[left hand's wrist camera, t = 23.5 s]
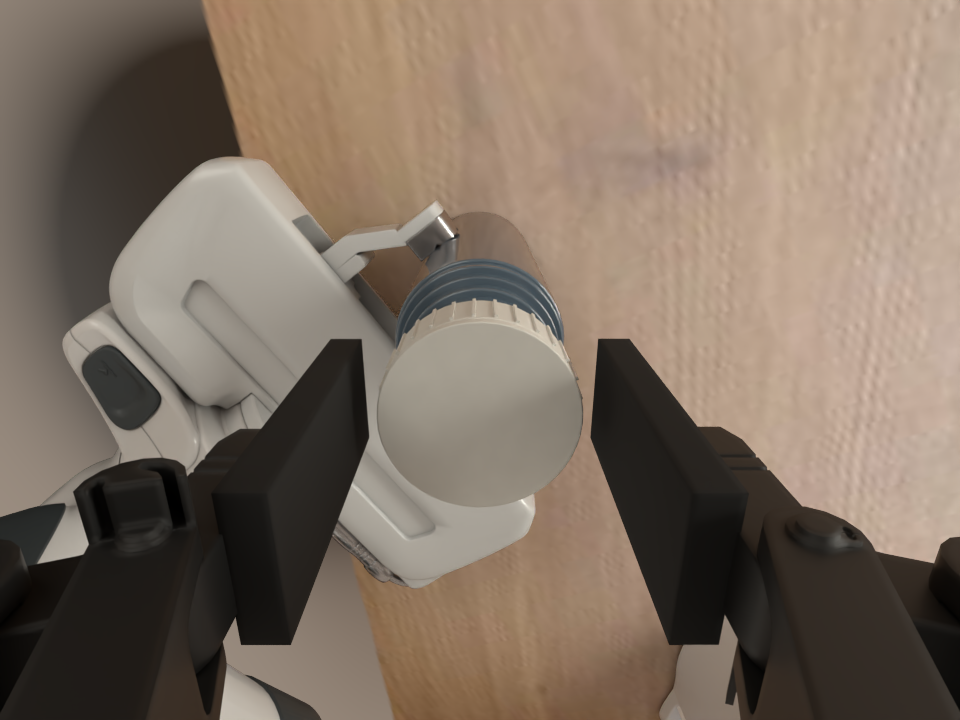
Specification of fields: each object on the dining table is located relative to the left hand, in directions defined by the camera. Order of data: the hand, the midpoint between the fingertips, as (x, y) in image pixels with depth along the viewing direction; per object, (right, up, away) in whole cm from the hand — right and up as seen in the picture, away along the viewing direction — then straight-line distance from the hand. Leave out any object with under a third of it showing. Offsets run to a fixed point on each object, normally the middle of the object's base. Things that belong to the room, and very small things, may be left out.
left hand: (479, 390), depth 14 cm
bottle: (0, +6, +15) cm, 16 cm away
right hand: (+1, +4, +9) cm, 10 cm away
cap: (0, -1, -1) cm, 1 cm away
